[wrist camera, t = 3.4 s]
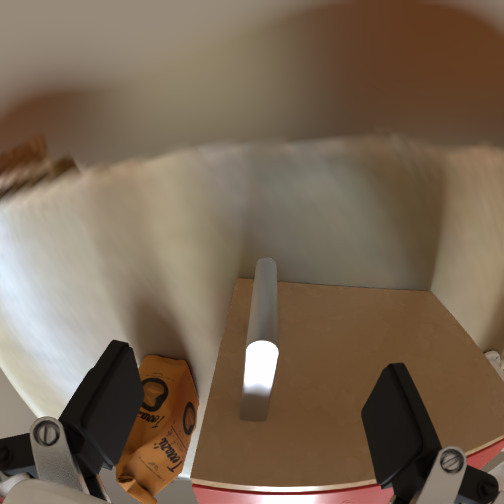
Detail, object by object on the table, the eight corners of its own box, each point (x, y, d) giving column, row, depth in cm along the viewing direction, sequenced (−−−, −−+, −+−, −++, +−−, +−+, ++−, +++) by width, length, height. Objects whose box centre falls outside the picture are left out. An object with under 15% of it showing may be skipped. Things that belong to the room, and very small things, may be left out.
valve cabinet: (236, 286, 33) (191, 486, 11) (427, 298, 33) (520, 430, 10) (232, 385, 40) (208, 529, 17) (387, 387, 39) (425, 507, 16)
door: (240, 221, 30) (170, 412, 8) (445, 244, 30) (572, 357, 7) (236, 284, 33) (191, 483, 11) (428, 297, 32) (521, 427, 10)
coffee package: (199, 357, 38) (158, 492, 18) (204, 406, 43) (179, 515, 22) (137, 347, 39) (76, 462, 18) (152, 396, 43) (112, 496, 23)
